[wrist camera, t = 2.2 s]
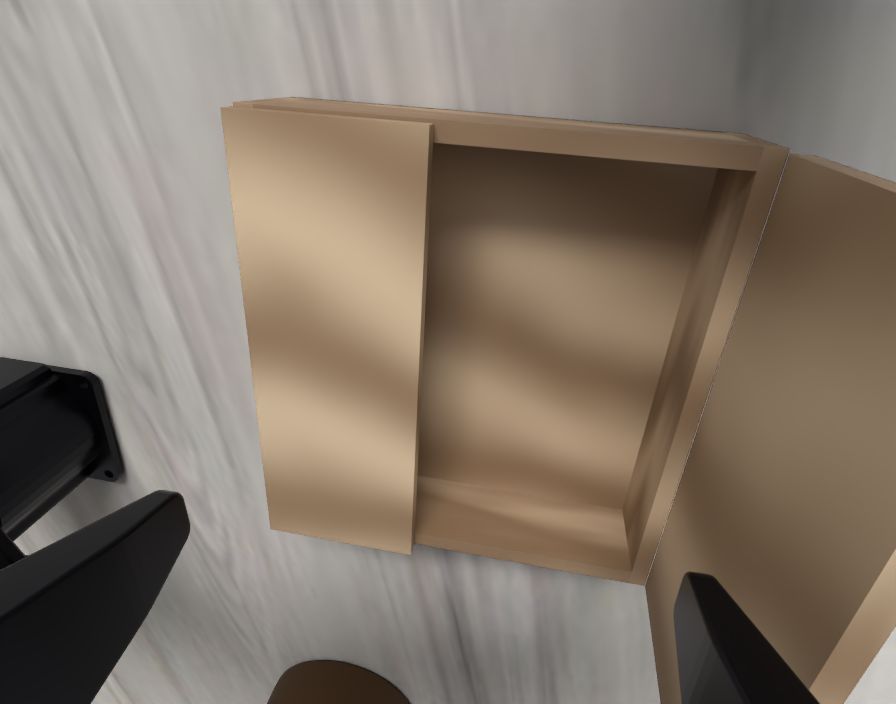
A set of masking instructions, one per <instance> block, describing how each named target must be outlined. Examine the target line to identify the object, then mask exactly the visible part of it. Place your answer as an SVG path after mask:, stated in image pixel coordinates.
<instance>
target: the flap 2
mask: <svg viewBox="0 0 896 704" xmlns="http://www.w3.org/2000/svg"><path fill="white" fill-rule="evenodd" d="M689 571H691V572H698V573H704V574H710V575H712V576H713V577H715V578H716V579H717V580H718V581H719V583H720V584H721V585H722V586H723V587H724V589H725V590H726V591H727V592H728V593H729V595H730V596H731V597H732V598H733V599H734V601H735V602H736V603H737V604H738V605H739V607H740V608H741V609H742V610H743V611H744V613H745V614H746V615H747V616H748V617H749V619H750V620H751V621H752V622H753V623H754V625H755V626H756V627H757V628H758V629H759V631H760V632H761V633H762V634H763V635H764V637H765V638H766V639H767V640H768V641H769V643H770V644H771V645H772V646H773V647H774V649H775V650H776V651H777V652H778V653H779V655H780V656H781V657H782V658H783V659H784V661H785V662H786V663H787V664H788V665H789V667H790V668H791V669H792V670H793V671H794V673H795V674H796V675H797V676H798V677H799V679H800V680H801V681H802V682H803V683H804V685H805V686H806V687H807V688H808V689H809V691H810V692H811V693H812V694H813V695H814V697H815V698H816V699H817V700H818V701H819V703H820V704H844V702H845V701H846V699H847V698H848V696H849V695H850V693H851V692H852V690H853V689H854V687H855V686H856V684H857V683H858V681H859V680H860V679H861V677H862V676H863V674H864V673H865V671H866V670H867V668H868V667H869V665H870V664H871V662H872V661H873V659H874V658H875V656H876V655H877V653H878V652H879V650H880V649H881V647H882V646H883V645H884V643H885V642H886V640H887V639H888V637H889V636H890V634H891V633H892V631H893V630H894V628H895V627H896V183H894V182H891V181H889V180H886V179H883V178H880V177H877V176H874V175H871V174H868V173H865V172H862V171H859V170H856V169H853V168H850V167H847V166H844V165H841V164H838V163H835V162H833V161H830V160H827V159H824V158H821V157H818V156H812V155H801V154H790V155H789V158H788V161H787V164H786V167H785V170H784V173H783V176H782V179H781V182H780V185H779V188H778V191H777V194H776V197H775V200H774V203H773V206H772V209H771V212H770V215H769V218H768V221H767V224H766V227H765V230H764V232H763V235H762V238H761V241H760V244H759V247H758V250H757V253H756V256H755V259H754V262H753V265H752V268H751V271H750V274H749V277H748V280H747V283H746V286H745V289H744V292H743V295H742V298H741V301H740V304H739V307H738V310H737V313H736V316H735V319H734V322H733V325H732V328H731V331H730V334H729V337H728V340H727V343H726V346H725V349H724V352H723V355H722V358H721V361H720V364H719V367H718V370H717V373H716V376H715V379H714V382H713V385H712V388H711V391H710V394H709V397H708V400H707V403H706V406H705V409H704V412H703V415H702V418H701V421H700V424H699V427H698V430H697V433H696V436H695V439H694V442H693V445H692V448H691V451H690V454H689V457H688V460H687V463H686V466H685V469H684V472H683V475H682V478H681V481H680V484H679V487H678V490H677V493H676V496H675V499H674V502H673V505H672V508H671V511H670V514H669V517H668V520H667V523H666V526H665V529H664V532H663V535H662V538H661V541H660V544H659V547H658V550H657V553H656V556H655V559H654V562H653V565H652V567H651V570H650V573H649V576H648V579H647V582H646V585H645V588H646V595H647V603H648V610H649V618H650V625H651V633H652V641H653V648H654V656H655V663H656V671H657V679H658V686H659V694H660V701H661V704H682V703H681V693H680V683H679V672H678V662H677V651H676V641H675V630H674V619H673V611H674V604H675V601H676V597H677V594H678V591H679V588H680V585H681V582H682V578H683V576H684V574H685V573H686V572H689Z"/></svg>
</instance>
